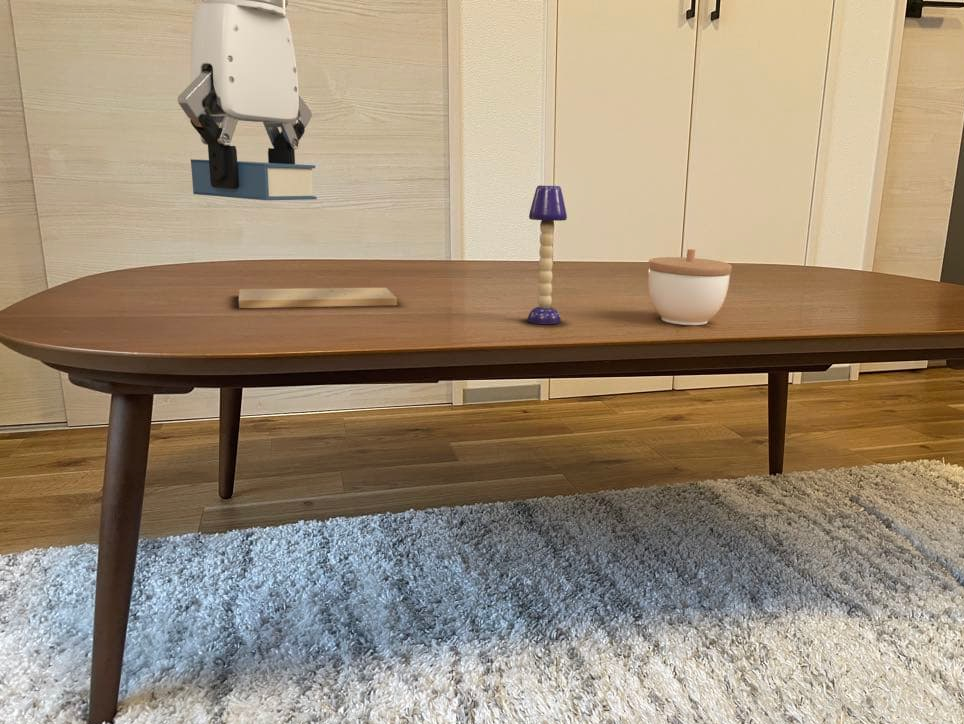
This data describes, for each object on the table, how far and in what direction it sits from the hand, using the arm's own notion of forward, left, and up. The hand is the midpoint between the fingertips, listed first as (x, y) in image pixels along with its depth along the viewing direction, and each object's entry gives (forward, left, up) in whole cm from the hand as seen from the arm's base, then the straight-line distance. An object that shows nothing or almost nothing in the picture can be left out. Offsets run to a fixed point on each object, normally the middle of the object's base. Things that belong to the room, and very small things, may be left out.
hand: (254, 186), depth 80 cm
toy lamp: (+19, -28, -16) cm, 37 cm away
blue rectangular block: (0, 0, -1) cm, 1 cm away
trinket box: (+26, -46, -16) cm, 55 cm away
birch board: (+22, +3, -16) cm, 27 cm away
